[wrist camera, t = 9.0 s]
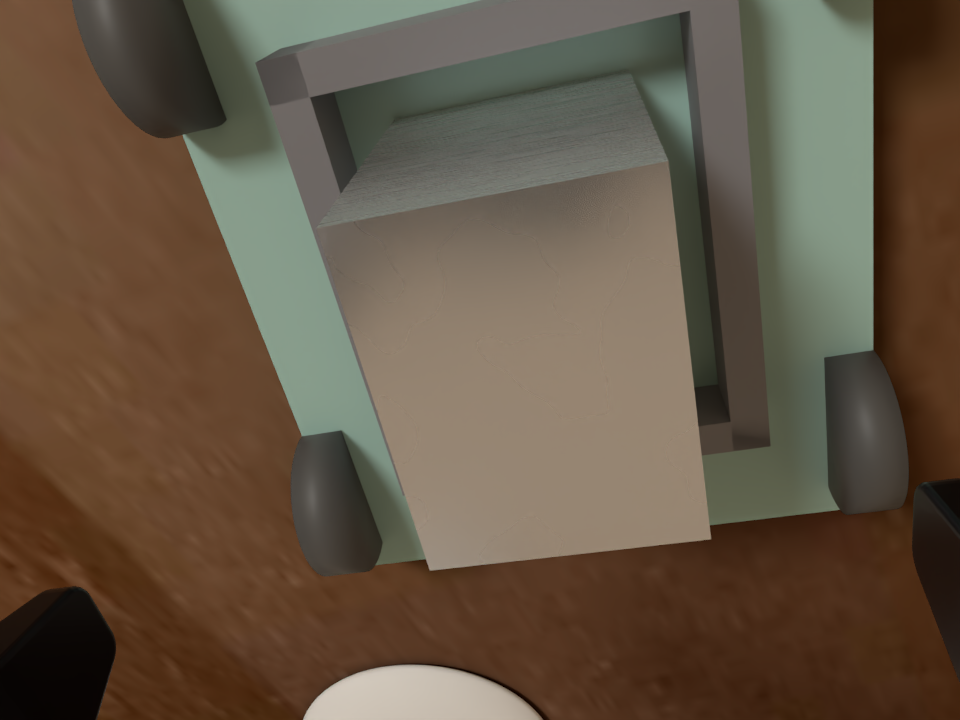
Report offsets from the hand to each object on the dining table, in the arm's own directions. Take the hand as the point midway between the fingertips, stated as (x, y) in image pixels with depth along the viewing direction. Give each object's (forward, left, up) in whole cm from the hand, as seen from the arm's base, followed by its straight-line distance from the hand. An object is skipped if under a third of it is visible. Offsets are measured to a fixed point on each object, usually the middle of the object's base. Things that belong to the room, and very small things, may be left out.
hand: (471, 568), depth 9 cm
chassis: (0, -1, -11) cm, 11 cm away
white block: (0, -1, -9) cm, 9 cm away
